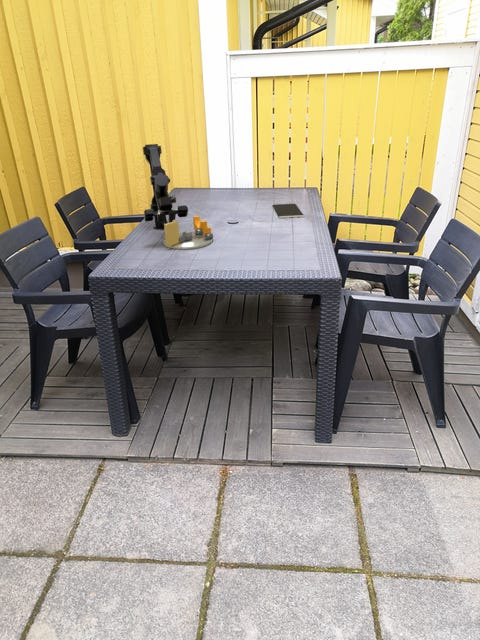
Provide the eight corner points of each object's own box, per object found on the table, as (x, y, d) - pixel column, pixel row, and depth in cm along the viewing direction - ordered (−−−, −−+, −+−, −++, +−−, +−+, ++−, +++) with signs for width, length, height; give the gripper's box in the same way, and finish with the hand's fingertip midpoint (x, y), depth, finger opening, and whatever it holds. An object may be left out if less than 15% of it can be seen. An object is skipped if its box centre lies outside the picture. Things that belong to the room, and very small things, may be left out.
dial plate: (176, 233, 227) (175, 227, 226) (219, 236, 221) (219, 229, 220) (154, 248, 209) (154, 241, 207) (201, 251, 202) (201, 244, 201)
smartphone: (278, 220, 245) (278, 216, 244) (272, 207, 269) (272, 204, 268) (304, 218, 246) (304, 215, 245) (295, 206, 270) (295, 203, 269)
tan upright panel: (187, 236, 217) (185, 215, 212) (194, 238, 214) (193, 217, 210) (163, 245, 206) (161, 224, 202) (171, 247, 204) (168, 225, 199)
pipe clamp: (211, 234, 225) (210, 220, 222) (202, 235, 223) (201, 222, 220) (202, 228, 235) (201, 215, 232) (194, 229, 233) (193, 216, 230)
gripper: (141, 190, 199) (148, 223, 195) (185, 186, 204) (193, 218, 200) (141, 205, 210) (148, 236, 206) (183, 200, 215) (190, 231, 210)
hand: (169, 230), depth 205 cm, fingers closed
